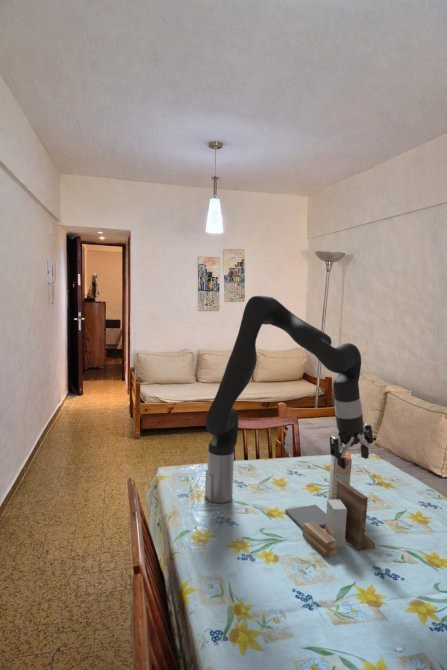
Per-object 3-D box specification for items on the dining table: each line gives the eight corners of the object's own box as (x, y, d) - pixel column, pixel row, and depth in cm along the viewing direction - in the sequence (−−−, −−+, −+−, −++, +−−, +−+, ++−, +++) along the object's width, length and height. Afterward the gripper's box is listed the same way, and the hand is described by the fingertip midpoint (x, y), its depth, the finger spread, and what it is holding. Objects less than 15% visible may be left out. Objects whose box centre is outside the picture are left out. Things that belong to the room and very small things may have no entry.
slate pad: (303, 530, 134) (303, 527, 134) (285, 512, 145) (285, 509, 145) (335, 525, 138) (335, 522, 138) (315, 507, 149) (315, 504, 149)
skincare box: (324, 536, 132) (326, 499, 130) (337, 536, 132) (340, 499, 131) (330, 548, 125) (333, 509, 124) (345, 547, 126) (347, 509, 125)
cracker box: (348, 520, 142) (352, 459, 140) (329, 517, 143) (333, 457, 141) (345, 500, 155) (348, 444, 153) (327, 498, 156) (331, 443, 154)
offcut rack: (324, 558, 120) (327, 503, 119) (302, 535, 132) (305, 485, 130) (375, 547, 127) (379, 495, 125) (349, 526, 138) (353, 478, 136)
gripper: (358, 401, 130) (363, 450, 133) (320, 415, 125) (326, 466, 128) (376, 408, 123) (381, 459, 127) (337, 423, 118) (343, 476, 121)
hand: (353, 462), depth 127 cm, fingers open, 8 cm apart
